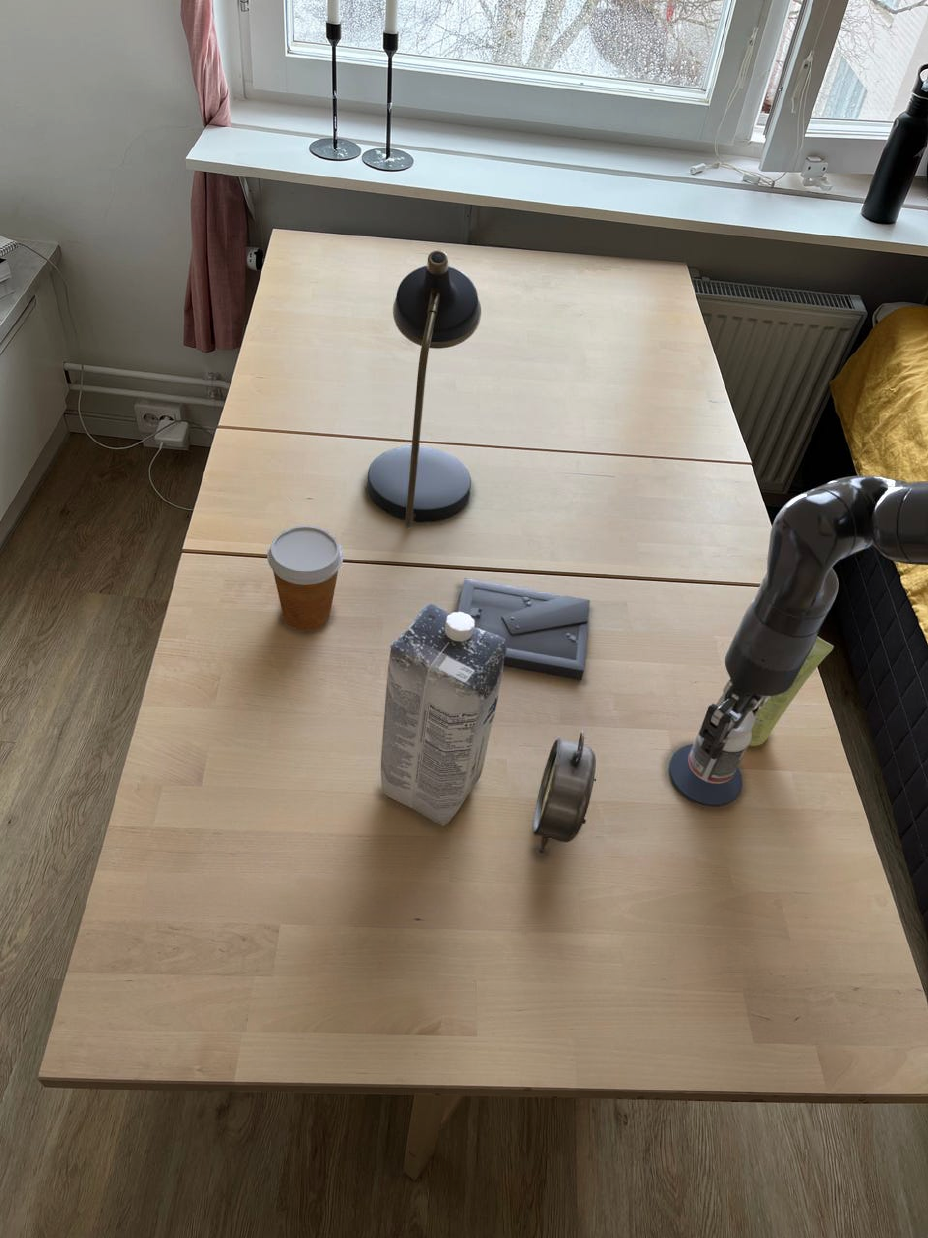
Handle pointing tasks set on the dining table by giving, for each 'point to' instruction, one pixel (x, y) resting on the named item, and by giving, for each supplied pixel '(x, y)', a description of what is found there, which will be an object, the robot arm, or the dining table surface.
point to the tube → (786, 694)
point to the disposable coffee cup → (305, 574)
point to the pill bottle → (722, 754)
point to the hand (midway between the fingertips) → (724, 738)
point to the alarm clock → (564, 791)
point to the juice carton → (439, 711)
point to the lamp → (418, 475)
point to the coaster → (701, 782)
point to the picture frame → (531, 626)
